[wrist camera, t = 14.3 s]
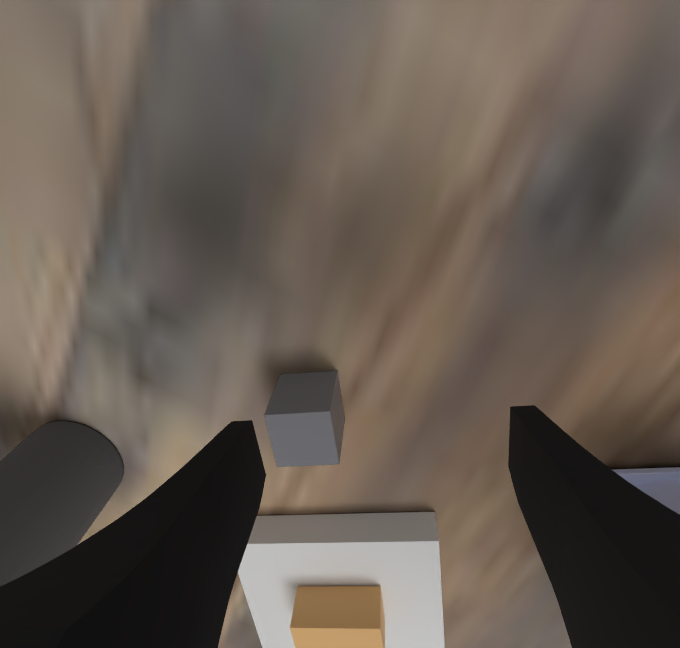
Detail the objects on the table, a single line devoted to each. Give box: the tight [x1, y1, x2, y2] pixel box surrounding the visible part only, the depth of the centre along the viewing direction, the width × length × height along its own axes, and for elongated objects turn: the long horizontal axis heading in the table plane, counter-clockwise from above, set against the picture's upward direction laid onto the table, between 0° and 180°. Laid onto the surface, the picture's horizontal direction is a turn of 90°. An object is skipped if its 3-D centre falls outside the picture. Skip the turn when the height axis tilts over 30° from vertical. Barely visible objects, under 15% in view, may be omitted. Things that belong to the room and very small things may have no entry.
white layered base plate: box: [238, 512, 444, 648], centre depth 29 cm, size 18×12×2 cm, turn 7°
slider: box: [290, 586, 385, 648], centre depth 26 cm, size 3×5×2 cm, turn 97°
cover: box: [264, 371, 345, 467], centre depth 22 cm, size 10×10×4 cm
